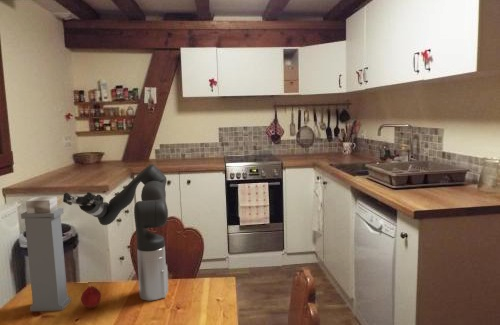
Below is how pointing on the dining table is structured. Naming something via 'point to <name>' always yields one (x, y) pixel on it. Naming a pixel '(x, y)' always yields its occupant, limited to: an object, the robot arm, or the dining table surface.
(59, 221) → the stand
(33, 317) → the dining table surface
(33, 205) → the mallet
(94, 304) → the onion
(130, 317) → the dining table surface
